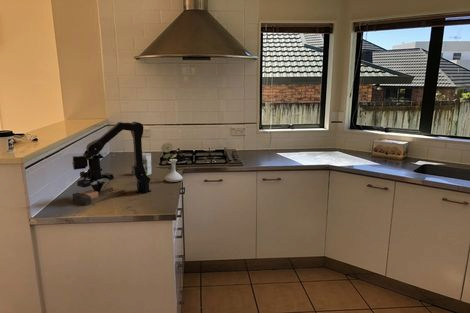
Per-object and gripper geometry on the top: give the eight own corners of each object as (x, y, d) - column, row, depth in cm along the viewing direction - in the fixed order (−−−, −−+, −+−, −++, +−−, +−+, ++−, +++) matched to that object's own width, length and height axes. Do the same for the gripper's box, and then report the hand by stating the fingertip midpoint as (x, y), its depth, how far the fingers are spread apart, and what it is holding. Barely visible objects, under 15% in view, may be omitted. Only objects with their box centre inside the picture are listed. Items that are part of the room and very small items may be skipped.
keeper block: (98, 200, 186) (98, 191, 185) (88, 203, 181) (88, 194, 180) (91, 198, 189) (91, 189, 188) (81, 200, 184) (80, 192, 183)
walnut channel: (124, 193, 197) (124, 186, 196) (86, 205, 178) (85, 197, 177) (111, 190, 203) (111, 183, 202) (73, 201, 183) (72, 194, 183)
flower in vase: (182, 178, 231) (181, 140, 226) (183, 183, 220) (182, 143, 215) (162, 178, 229) (161, 140, 224) (161, 183, 218) (160, 143, 213)
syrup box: (139, 175, 238) (138, 153, 235) (144, 173, 243) (144, 152, 241) (146, 175, 236) (146, 154, 233) (151, 173, 241) (151, 153, 239)
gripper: (100, 161, 197) (102, 188, 201) (69, 168, 182) (72, 197, 186) (113, 164, 191) (115, 191, 195) (82, 171, 176) (85, 201, 180)
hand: (97, 195), depth 189 cm, fingers closed
